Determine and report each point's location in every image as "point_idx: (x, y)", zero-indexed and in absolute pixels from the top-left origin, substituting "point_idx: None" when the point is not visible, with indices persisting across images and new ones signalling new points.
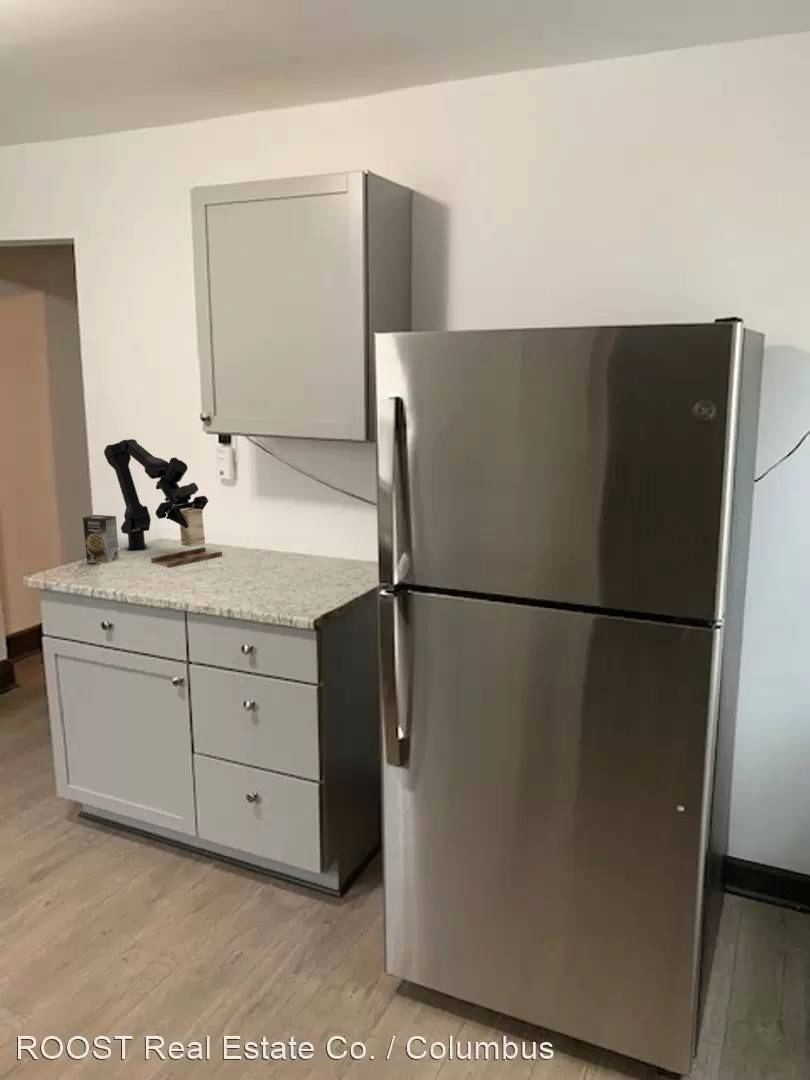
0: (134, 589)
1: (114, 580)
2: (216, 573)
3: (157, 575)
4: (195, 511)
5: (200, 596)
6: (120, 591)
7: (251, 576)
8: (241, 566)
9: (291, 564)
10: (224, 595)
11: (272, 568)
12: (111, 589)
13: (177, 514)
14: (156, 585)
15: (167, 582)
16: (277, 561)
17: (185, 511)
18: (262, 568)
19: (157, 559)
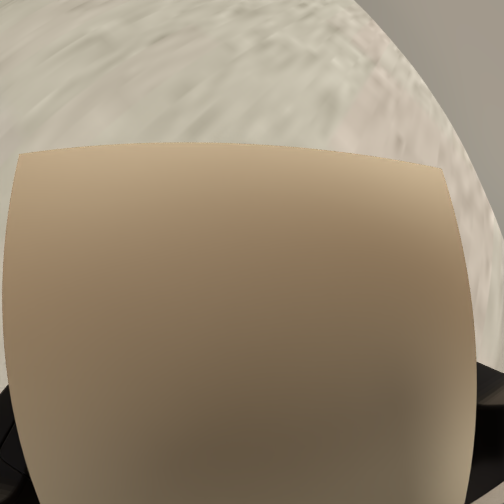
0: (466, 178)
1: (485, 294)
2: (252, 103)
3: None
4: (261, 157)
5: (371, 41)
6: (484, 192)
7: (204, 26)
8: (128, 104)
9: (43, 41)
10: (334, 14)
11: (102, 38)
12: (494, 222)
13: (494, 372)
14: (429, 158)
15: (404, 154)
16: (22, 82)
17: (468, 281)
18: (115, 51)
19: None
